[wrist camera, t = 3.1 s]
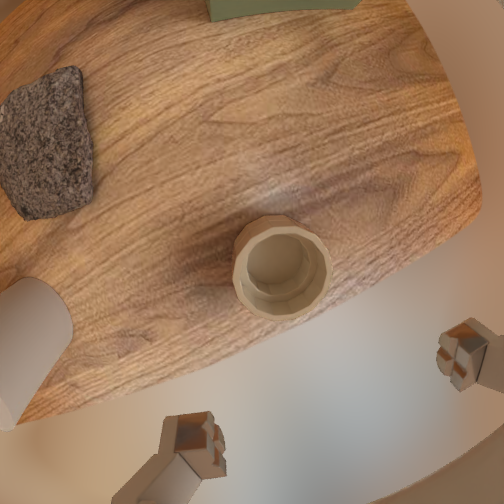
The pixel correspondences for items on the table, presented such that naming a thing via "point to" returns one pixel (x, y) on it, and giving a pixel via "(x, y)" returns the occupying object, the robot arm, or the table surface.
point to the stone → (46, 146)
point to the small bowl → (280, 268)
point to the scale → (269, 6)
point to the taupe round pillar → (28, 343)
